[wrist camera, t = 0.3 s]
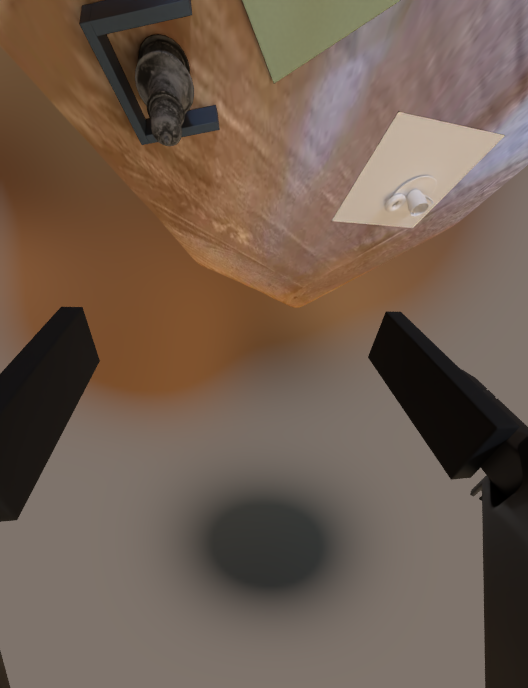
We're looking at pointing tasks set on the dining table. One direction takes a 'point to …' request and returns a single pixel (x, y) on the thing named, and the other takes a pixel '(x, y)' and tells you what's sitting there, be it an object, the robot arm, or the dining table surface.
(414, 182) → the teacup and saucer
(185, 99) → the salt shaker
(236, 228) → the dining table surface
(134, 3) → the blue-grey u-shaped frame
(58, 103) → the dining table surface
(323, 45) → the mat
